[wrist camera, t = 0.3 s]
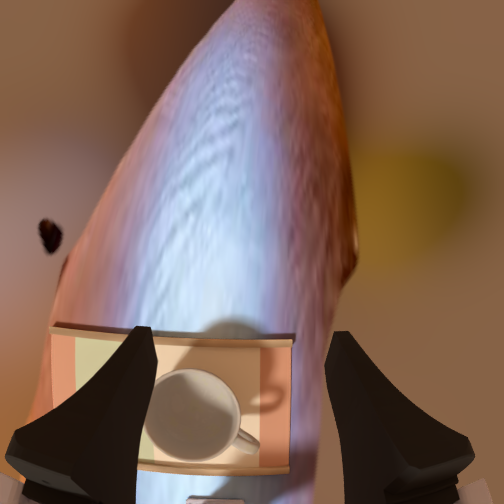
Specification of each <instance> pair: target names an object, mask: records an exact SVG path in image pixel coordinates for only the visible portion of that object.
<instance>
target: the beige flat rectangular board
mask: <svg viewBox="0 0 504 504" xmlns="http://www.w3.org/2000/svg"><path fill="white" fill-rule="evenodd" d="M49 334H52V340H51V363H52V392H53V407H54V408H56V407H57V406H59V405H60V404H61V403H63V402H64V401H65V400H67V399H68V398H69V397H70V396H72V395H73V394H74V393H75V392H76V391H78V390H79V389H80V388H81V387H82V386H83V385H84V384H85V383H86V382H87V381H88V380H89V379H90V378H91V377H92V376H93V375H94V374H95V373H96V372H97V371H98V370H99V369H100V368H101V367H102V366H103V365H104V364H105V363H106V361H107V360H108V359H109V358H110V357H111V356H112V354H113V353H114V352H115V351H116V350H117V349H118V347H119V346H120V345H121V344H122V342H123V341H124V340H125V339H126V337H127V336H128V334H116V333H105V332H95V331H85V330H76V329H68V328H60V327H52V326H49ZM153 340H154V345H155V350H156V354H157V358H158V366H157V373H156V379H155V380H157V379H158V378H159V377H161V376H162V375H164V374H166V373H168V372H171V371H173V370H178V369H185V368H198V369H203V370H206V371H209V372H211V373H213V374H215V375H217V376H218V377H220V378H221V379H222V380H223V381H224V382H225V383H226V384H227V385H228V386H229V387H230V388H231V389H232V391H233V392H234V394H235V396H236V397H237V399H238V402H239V404H240V409H241V424H240V428H241V429H243V430H244V431H246V432H247V433H249V434H250V435H252V436H253V437H255V438H256V439H257V440H258V441H259V442H260V448H259V450H258V451H257V452H256V453H255V454H247V453H244V452H242V451H240V450H239V449H237V448H235V447H234V446H232V445H231V446H230V447H229V448H227V449H226V450H225V451H224V452H223V453H222V454H220V455H219V456H217V457H215V458H213V459H210V460H207V461H202V462H185V461H180V460H178V459H175V458H171V457H170V456H167V455H166V454H164V453H163V452H161V451H160V450H159V449H157V448H156V447H155V446H154V444H153V443H152V442H151V441H150V439H149V438H148V436H147V435H146V433H145V431H144V428H143V430H142V435H141V441H140V449H139V457H138V467H137V470H143V471H152V472H161V473H172V474H185V475H205V476H255V475H275V474H289V473H290V467H289V438H290V396H291V347H292V339H275V340H239V339H197V338H174V337H156V336H153Z"/></svg>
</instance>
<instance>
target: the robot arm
mask: <svg viewBox="0 0 504 504" xmlns="http://www.w3.org/2000/svg"><path fill="white" fill-rule="evenodd" d="M157 366H158V358H157V354H156V350H155V345H154V340H153V336H152V331H151V327H145V326H136V327H134V329H133V330H132V331H131V332H130V334H129V335H128V336H127V337H126V339H125V340H124V341H123V342H122V344H121V345H120V346H119V347H118V349H117V350H116V351H115V352H114V353H113V354H112V356H111V357H110V358H109V359H108V360H107V361H106V363H105V364H104V365H103V366H102V367H101V368H100V369H99V370H98V371H97V372H96V373H95V374H94V375H93V376H92V377H91V378H90V379H89V380H88V381H87V382H86V383H85V384H84V385H83V386H82V387H81V388H80V389H79V390H78V391H76V392H75V393H74V394H73V395H72V396H70V397H69V398H68V399H67V400H65V401H64V402H63V403H61V404H60V405H59V406H57V407H56V408H54V409H53V410H51V411H50V412H48V413H47V414H45V415H44V416H42V417H40V418H39V419H37V420H35V421H33V422H31V423H29V424H27V425H25V426H23V427H21V428H19V429H17V430H15V432H14V434H13V436H12V439H11V441H10V443H9V446H8V449H7V452H6V454H5V459H6V461H7V462H8V463H9V464H10V465H11V466H12V467H13V468H14V469H16V470H17V471H18V472H19V473H20V474H21V475H23V476H24V477H25V478H26V481H25V484H23V483H22V482H20V481H18V480H16V479H14V478H12V477H10V476H7V475H5V474H3V473H1V472H0V504H136V481H137V467H138V457H139V449H140V441H141V435H142V430H143V426H144V422H145V418H146V414H147V411H148V407H149V403H150V400H151V396H152V392H153V389H154V385H155V379H156V373H157ZM324 367H325V375H326V383H327V389H328V393H329V397H330V401H331V405H332V409H333V413H334V417H335V421H336V425H337V429H338V433H339V438H340V445H341V453H342V462H343V474H344V494H345V504H493V501H492V498H491V496H490V492H489V490H488V487H487V484H486V481H485V479H484V478H482V479H480V480H477V481H475V482H473V483H471V484H468V485H466V486H463V487H461V488H460V489H458V490H457V488H456V485H455V484H457V483H458V478H457V474H459V473H460V472H461V471H462V470H464V469H465V468H466V467H467V466H468V465H469V464H470V463H471V462H472V461H473V460H474V458H475V454H474V451H473V449H472V446H471V443H470V441H469V440H468V437H466V436H464V435H462V434H460V433H458V432H456V431H454V430H452V429H450V428H448V427H446V426H445V425H443V424H442V423H440V422H438V421H437V420H435V419H434V418H432V417H431V416H429V415H428V414H427V413H425V412H424V411H423V410H421V409H420V408H418V407H417V406H416V405H415V404H413V403H412V402H411V401H410V400H409V399H408V398H407V397H405V396H404V395H403V394H402V393H401V392H399V390H398V389H397V388H396V387H395V386H394V385H393V384H392V383H391V382H390V381H389V380H388V379H387V378H386V377H385V376H384V374H383V373H382V372H381V371H380V370H379V369H378V367H377V366H376V365H375V364H374V363H373V362H372V360H371V359H370V358H369V357H368V355H367V354H366V353H365V352H364V350H363V349H362V348H361V347H360V345H359V344H358V343H357V341H356V340H355V339H354V338H353V336H352V335H351V334H350V332H349V331H336V332H335V331H334V333H333V337H332V341H331V344H330V348H329V351H328V354H327V358H326V361H325V365H324ZM189 503H191V504H244V500H242V499H194V498H188V499H187V500H186V504H189Z"/></svg>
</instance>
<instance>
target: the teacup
mask: <svg viewBox="0 0 504 504" xmlns="http://www.w3.org/2000/svg"><path fill="white" fill-rule="evenodd" d="M240 424H241V409H240V404H239V402H238V399H237V397H236V396H235V394H234V392H233V391H232V389H231V388H230V387H229V386H228V385H227V384H226V383H225V382H224V381H223V380H222V379H221V378H220V377H218V376H217V375H215V374H213V373H211V372H209V371H206V370H203V369H198V368H185V369H178V370H173V371H171V372H168V373H166V374H164V375H162V376H161V377H159V378H158V379H157V380H155V385H154V389H153V392H152V396H151V400H150V403H149V407H148V411H147V414H146V418H145V422H144V426H143V428H144V431H145V433H146V435H147V436H148V438H149V439H150V441H151V442H152V443H153V444H154V446H155V447H156V448H157V449H159V450H160V451H161V452H163V453H164V454H166V455H167V456H170V457H171V458H175V459H178V460H180V461H185V462H202V461H207V460H210V459H213V458H215V457H217V456H219V455H220V454H222V453H223V452H224V451H225V450H226V449H227V448H229V447H230V446H231V445H232V446H234V447H235V448H237V449H239V450H240V451H242V452H244V453H247V454H255V453H256V452H257V451H258V450H259V448H260V442H259V441H258V440H257V439H256V438H255V437H253V436H252V435H250V434H249V433H247V432H246V431H244V430H243V429H241V428H240Z"/></svg>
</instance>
